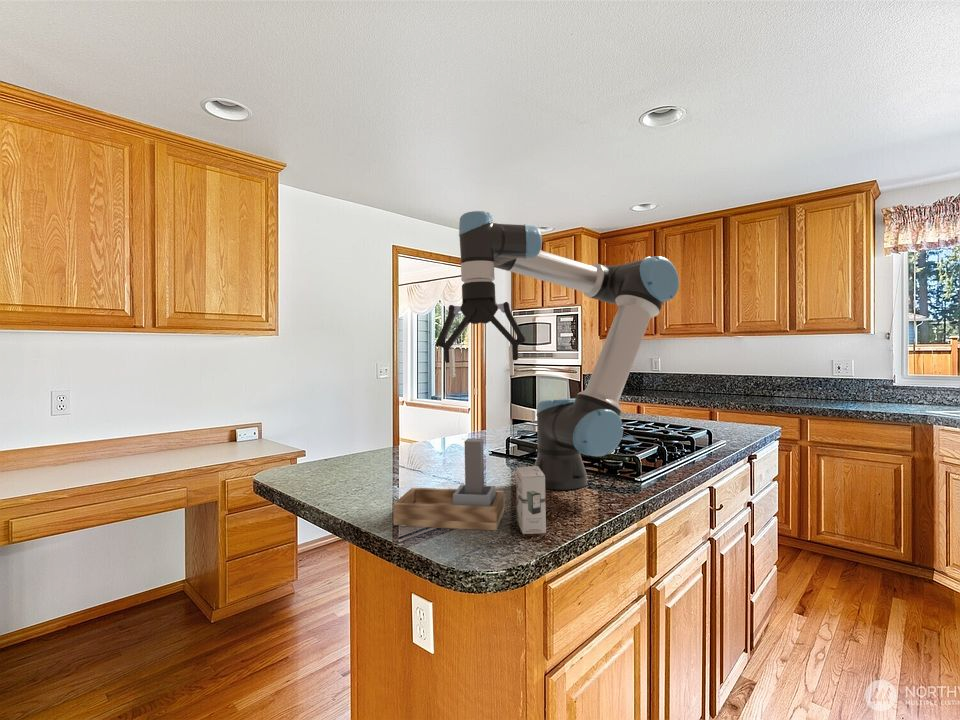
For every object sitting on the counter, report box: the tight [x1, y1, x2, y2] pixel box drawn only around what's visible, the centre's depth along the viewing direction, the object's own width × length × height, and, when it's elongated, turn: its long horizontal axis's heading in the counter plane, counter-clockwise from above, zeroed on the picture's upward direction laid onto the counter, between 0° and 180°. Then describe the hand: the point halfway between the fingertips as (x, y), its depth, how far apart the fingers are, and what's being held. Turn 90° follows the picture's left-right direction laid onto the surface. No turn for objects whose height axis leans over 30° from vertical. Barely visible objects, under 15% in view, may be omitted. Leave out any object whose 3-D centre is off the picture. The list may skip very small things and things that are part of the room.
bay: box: [392, 487, 505, 531], centre depth 111 cm, size 22×13×4 cm, turn 80°
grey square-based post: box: [453, 438, 497, 506], centre depth 110 cm, size 8×8×15 cm
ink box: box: [515, 465, 547, 535], centre depth 104 cm, size 9×5×12 cm, turn 5°
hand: (482, 376), depth 114 cm, fingers open, 13 cm apart
